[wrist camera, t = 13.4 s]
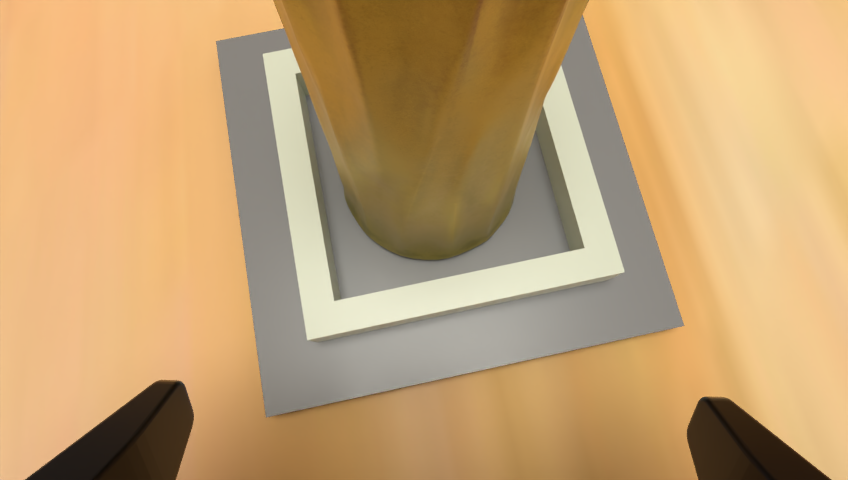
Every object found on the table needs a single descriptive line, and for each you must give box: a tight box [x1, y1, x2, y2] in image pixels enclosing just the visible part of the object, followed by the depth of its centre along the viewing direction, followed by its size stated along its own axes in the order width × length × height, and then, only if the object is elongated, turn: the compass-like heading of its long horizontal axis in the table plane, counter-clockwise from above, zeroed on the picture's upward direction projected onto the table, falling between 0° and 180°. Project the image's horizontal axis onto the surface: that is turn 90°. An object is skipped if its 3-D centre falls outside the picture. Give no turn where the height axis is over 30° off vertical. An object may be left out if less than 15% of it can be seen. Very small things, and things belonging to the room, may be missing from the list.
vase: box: [273, 0, 589, 260], centre depth 11 cm, size 6×6×14 cm
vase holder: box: [216, 15, 684, 417], centre depth 18 cm, size 14×14×2 cm
